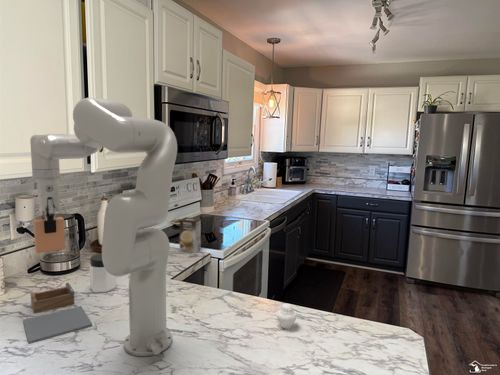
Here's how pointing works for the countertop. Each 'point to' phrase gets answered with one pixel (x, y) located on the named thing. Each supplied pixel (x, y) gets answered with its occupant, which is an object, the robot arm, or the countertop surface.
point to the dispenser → (52, 299)
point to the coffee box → (190, 234)
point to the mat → (56, 324)
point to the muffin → (286, 316)
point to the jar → (100, 276)
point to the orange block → (49, 236)
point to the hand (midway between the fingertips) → (49, 230)
